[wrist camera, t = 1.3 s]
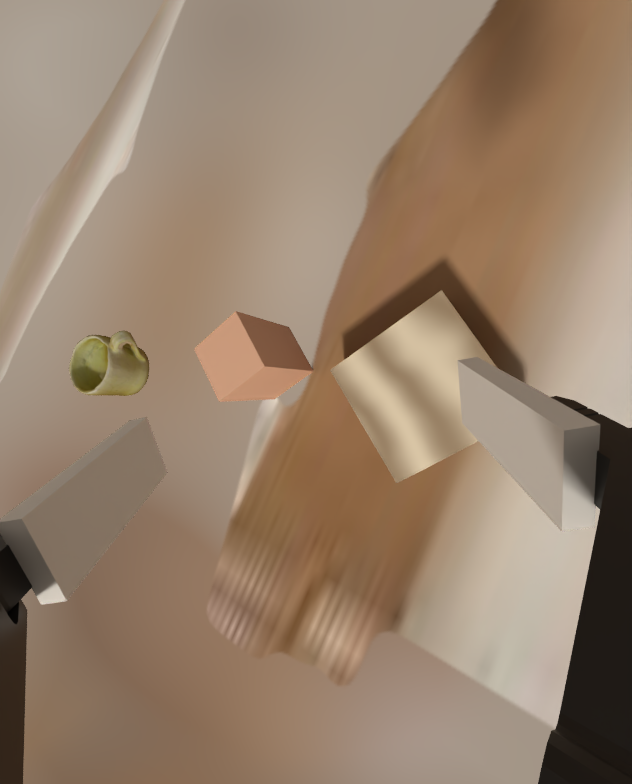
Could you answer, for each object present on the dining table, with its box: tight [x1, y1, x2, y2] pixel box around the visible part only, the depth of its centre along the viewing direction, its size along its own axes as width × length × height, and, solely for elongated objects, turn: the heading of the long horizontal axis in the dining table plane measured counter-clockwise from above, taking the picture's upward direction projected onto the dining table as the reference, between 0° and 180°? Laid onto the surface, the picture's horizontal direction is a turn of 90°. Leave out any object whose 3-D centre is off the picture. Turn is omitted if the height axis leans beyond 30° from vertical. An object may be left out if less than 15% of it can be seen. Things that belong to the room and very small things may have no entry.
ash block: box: [330, 290, 496, 483], centre depth 38 cm, size 14×14×5 cm
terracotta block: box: [194, 312, 313, 402], centre depth 43 cm, size 7×7×11 cm
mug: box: [69, 331, 149, 396], centre depth 58 cm, size 12×10×10 cm
